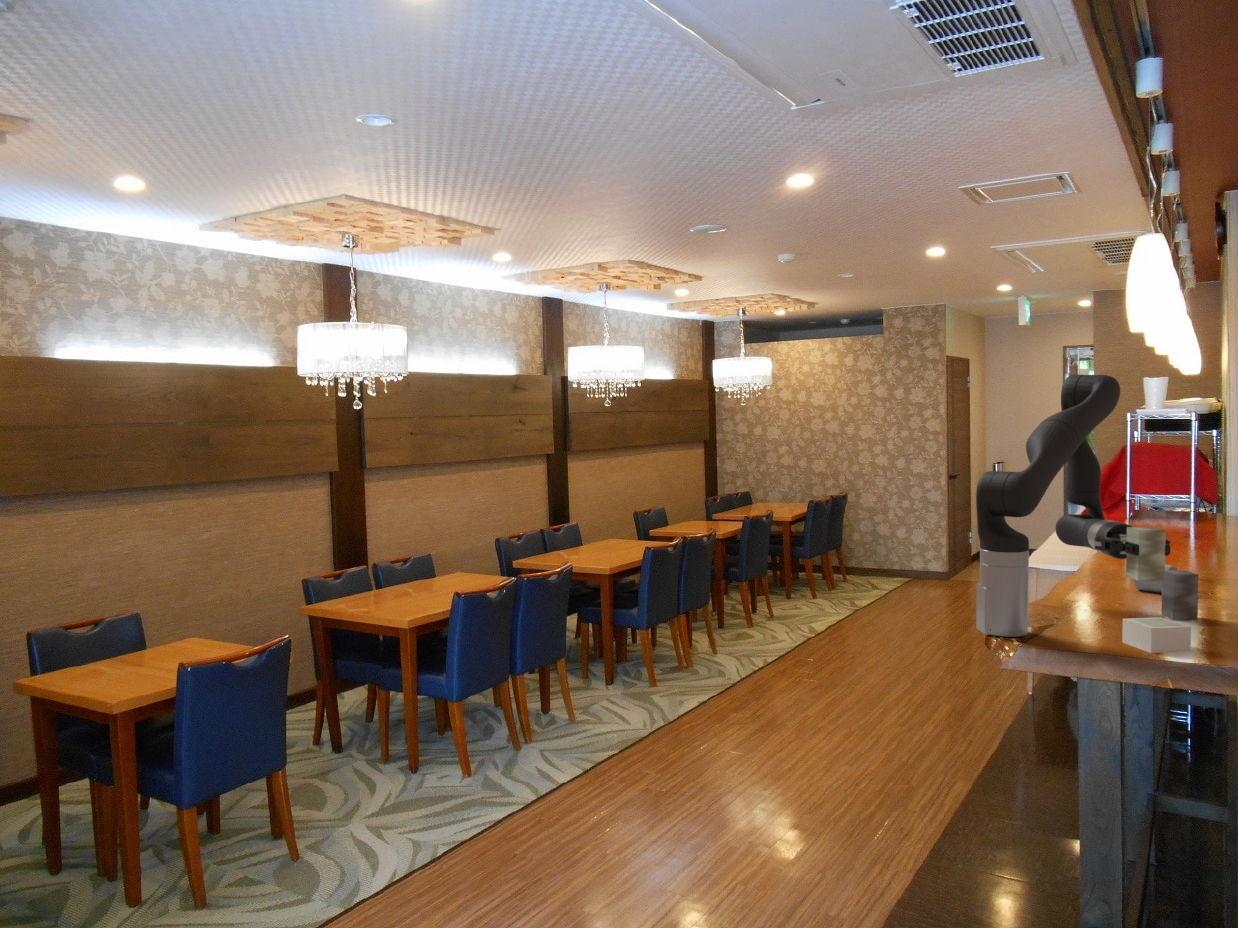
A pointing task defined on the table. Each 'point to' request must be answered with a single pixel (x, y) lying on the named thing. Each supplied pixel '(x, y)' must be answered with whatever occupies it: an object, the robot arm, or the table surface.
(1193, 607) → the slate pillar
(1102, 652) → the table surface
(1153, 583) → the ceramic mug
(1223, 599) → the table surface
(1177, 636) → the cream base block
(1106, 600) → the table surface
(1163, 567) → the sage pillar
